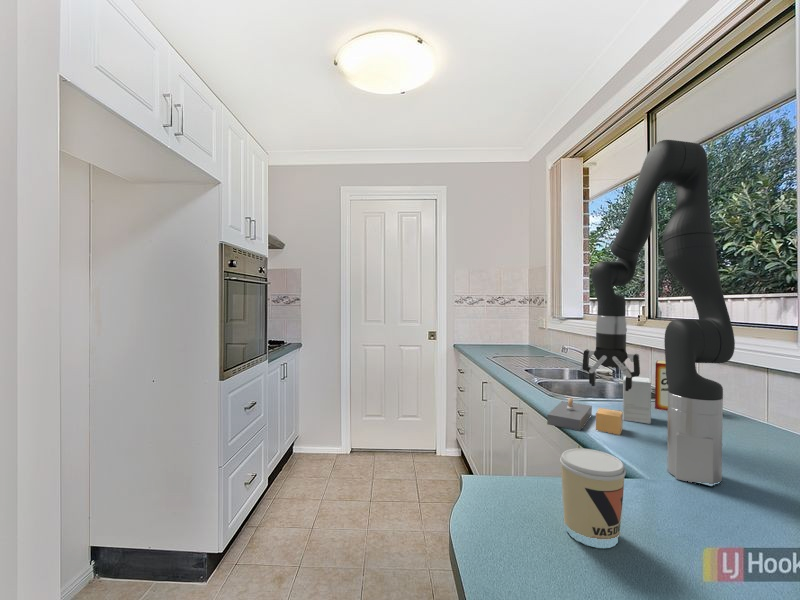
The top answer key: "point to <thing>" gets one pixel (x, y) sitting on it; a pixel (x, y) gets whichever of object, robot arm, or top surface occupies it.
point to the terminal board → (569, 415)
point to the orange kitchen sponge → (609, 421)
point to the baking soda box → (661, 386)
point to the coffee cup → (592, 492)
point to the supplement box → (637, 400)
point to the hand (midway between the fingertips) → (610, 388)
